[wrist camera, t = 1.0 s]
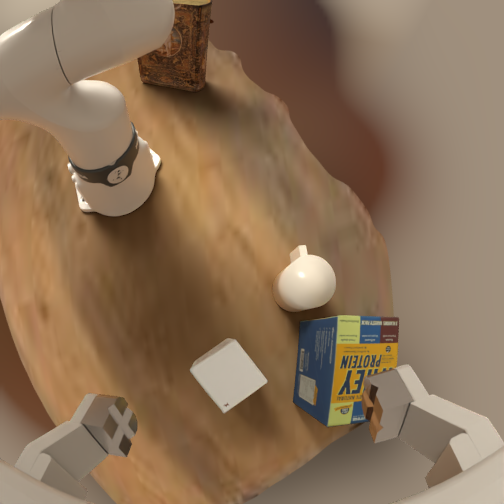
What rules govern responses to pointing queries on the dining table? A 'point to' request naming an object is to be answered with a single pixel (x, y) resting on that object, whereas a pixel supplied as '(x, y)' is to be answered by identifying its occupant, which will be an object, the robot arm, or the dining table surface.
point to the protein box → (341, 364)
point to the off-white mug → (304, 282)
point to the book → (181, 49)
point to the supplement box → (227, 374)
